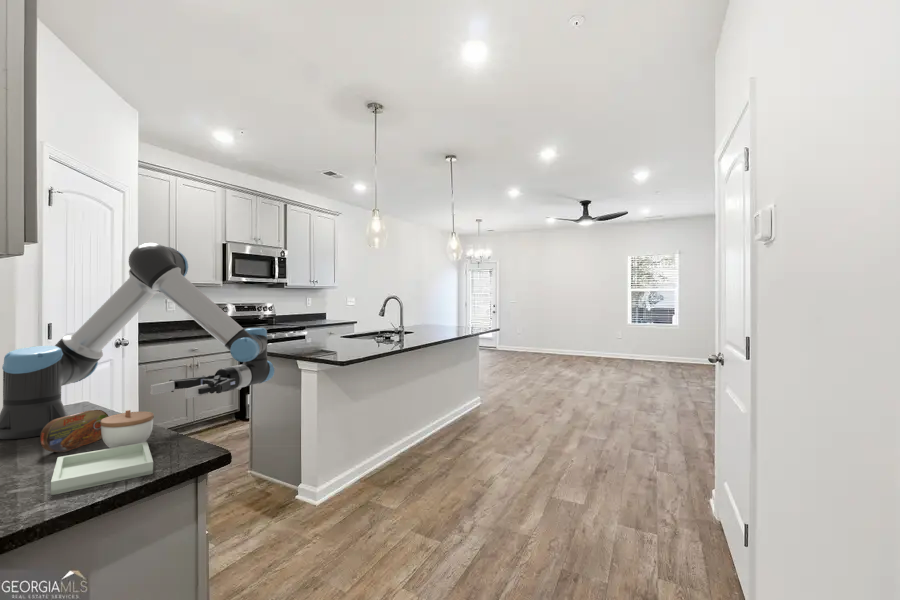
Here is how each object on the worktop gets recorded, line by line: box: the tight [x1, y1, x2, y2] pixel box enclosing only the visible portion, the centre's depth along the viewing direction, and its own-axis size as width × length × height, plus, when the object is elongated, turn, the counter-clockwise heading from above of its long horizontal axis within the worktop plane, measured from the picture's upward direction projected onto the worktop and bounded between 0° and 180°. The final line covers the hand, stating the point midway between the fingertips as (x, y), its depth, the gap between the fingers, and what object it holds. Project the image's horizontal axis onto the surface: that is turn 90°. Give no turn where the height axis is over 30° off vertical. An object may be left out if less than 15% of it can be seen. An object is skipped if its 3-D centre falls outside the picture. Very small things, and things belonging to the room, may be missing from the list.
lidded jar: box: [100, 409, 155, 449], centre depth 105 cm, size 11×11×9 cm
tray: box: [50, 441, 154, 496], centre depth 90 cm, size 16×16×3 cm
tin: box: [39, 409, 109, 453], centre depth 106 cm, size 15×3×8 cm, turn 168°
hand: (168, 392), depth 115 cm, fingers open, 13 cm apart
